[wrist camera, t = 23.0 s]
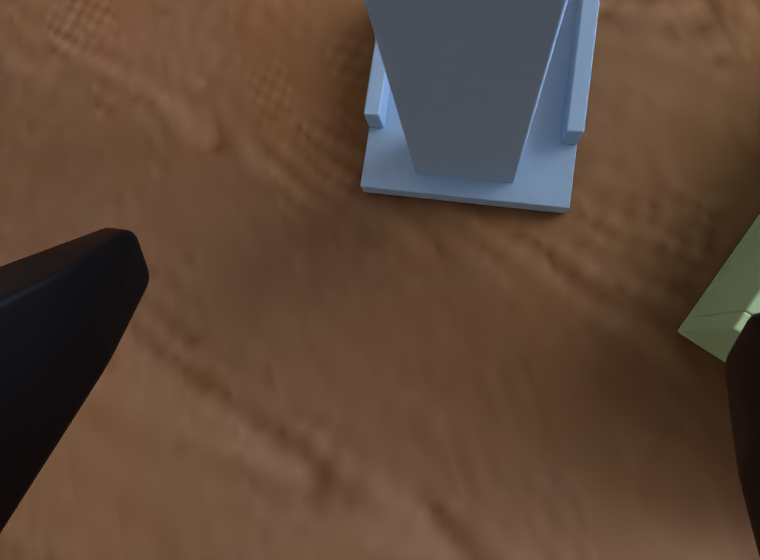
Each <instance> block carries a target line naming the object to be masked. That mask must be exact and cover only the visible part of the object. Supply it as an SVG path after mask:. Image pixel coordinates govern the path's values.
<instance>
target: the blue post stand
mask: <svg viewBox="0 0 760 560" xmlns="http://www.w3.org/2000/svg"><path fill="white" fill-rule="evenodd" d="M364 1H365V4H366V8H367V11H368V15H369V18H370V21H371V25H372V28H373V31H374V35H375V38H376V39H375V45H374V51H373V58H372V64H371V70H370V76H369V83H368V89H367V95H366V102H365V108H364V116H365V118H366V120H367V123H368V125H369V133H368V139H367V145H366V152H365V158H364V164H363V171H362V177H361V184H360V187H361V188H362V190H363V191H364V192H368V193H377V194H387V195H396V196H406V197H415V198H425V199H434V200H443V201H453V202H462V203H472V204H481V205H491V206H500V207H509V208H519V209H528V210H538V211H547V212H556V213H566V212H567V210H568V209H569V208H570V201H571V192H572V184H573V176H574V167H575V159H576V151H577V144H578V142H579V140H580V138H581V136H582V135H583V133H584V131H585V122H586V114H587V105H588V97H589V88H590V80H591V71H592V63H593V55H594V46H595V38H596V29H597V21H598V12H599V4H600V0H364Z"/></svg>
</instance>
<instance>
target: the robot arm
mask: <svg viewBox="0 0 760 560" xmlns="http://www.w3.org/2000/svg"><path fill="white" fill-rule="evenodd" d="M148 281H149V272H148V268H147V265H146V262H145V259H144V256H143V253H142V251H141V248H140V245H139V242H138V239H137V237H136V236H135V234H134V233H133V232H131V231H129V230H123V229H115V228H104V229H101V230H98V231H96V232H93V233H90V234H88V235H85V236H82V237H80V238H77V239H74V240H71V241H69V242H66V243H63V244H61V245H58V246H55V247H52V248H50V249H47V250H44V251H42V252H39V253H36V254H34V255H31V256H28V257H25V258H23V259H20V260H17V261H15V262H12V263H9V264H7V265H4V266H1V267H0V533H1V531H2V530H3V528H4V527H5V525H6V524H7V522H8V520H9V519H10V517H11V516H12V514H13V513H14V511H15V509H16V508H17V506H18V505H19V503H20V502H21V500H22V498H23V497H24V495H25V494H26V492H27V491H28V489H29V488H30V486H31V484H32V483H33V481H34V480H35V478H36V477H37V475H38V473H39V472H40V470H41V469H42V467H43V466H44V464H45V462H46V461H47V459H48V458H49V456H50V455H51V453H52V451H53V450H54V448H55V447H56V445H57V444H58V442H59V441H60V439H61V437H62V436H63V434H64V433H65V431H66V430H67V428H68V426H69V425H70V423H71V422H72V420H73V419H74V417H75V415H76V414H77V412H78V411H79V409H80V408H81V406H82V404H83V403H84V401H85V400H86V398H87V397H88V395H89V393H90V392H91V390H92V389H93V387H94V386H95V384H96V383H97V381H98V379H99V378H100V376H101V375H102V373H103V371H104V370H105V368H106V366H107V365H108V363H109V361H110V359H111V357H112V355H113V354H114V352H115V350H116V348H117V346H118V344H119V342H120V340H121V338H122V336H123V334H124V332H125V330H126V328H127V326H128V324H129V322H130V320H131V318H132V316H133V314H134V312H135V310H136V308H137V306H138V304H139V302H140V300H141V298H142V296H143V294H144V292H145V290H146V288H147V285H148ZM725 378H726V386H727V393H728V401H729V409H730V416H731V424H732V431H733V439H734V447H735V454H736V461H737V467H738V473H739V478H740V482H741V487H742V491H743V495H744V499H745V503H746V507H747V510H748V514H749V518H750V522H751V526H752V530H753V533H754V537H755V541H756V545H757V549H758V553H759V556H760V312H759V313H755V314H753V315H752V316H751V317H750V318H749V319H748V320H747V322H746V324H745V325H744V327H743V329H742V331H741V332H740V334H739V336H738V338H737V339H736V341H735V343H734V345H733V346H732V348H731V350H730V352H729V353H728V356H727V358H726V362H725Z"/></svg>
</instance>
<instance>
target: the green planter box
mask: <svg viewBox="0 0 760 560" xmlns="http://www.w3.org/2000/svg"><path fill="white" fill-rule="evenodd" d="M759 312H760V214H759V215H758V216H757V218H756V219H755V221H754V222H753V224H752V225H751V226H750V228H749V229H748V231H747V232H746V234H745V235H744V236H743V238H742V239H741V241H740V242H739V244H738V245H737V246H736V248H735V249H734V251H733V252H732V254H731V255H730V256H729V258H728V259H727V261H726V262H725V264H724V265H723V266H722V268H721V269H720V271H719V272H718V273H717V275H716V276H715V278H714V279H713V281H712V282H711V283H710V285H709V286H708V288H707V289H706V291H705V292H704V293H703V295H702V296H701V298H700V299H699V301H698V302H697V303H696V305H695V306H694V308H693V309H692V311H691V312H690V313H689V315H688V316H687V318H686V319H685V321H684V322H683V323H682V325H681V326H680V328H679V329H678V331H677V332H678V333H679V334H681V335H683V336H684V337H686V338H687V339H689V340H690V341H692V342H694V343H695V344H697V345H698V346H700V347H701V348H703V349H704V350H706V351H708V352H709V353H711V354H712V355H714V356H715V357H717V358H718V359H720V360H722V361H723V362H726V358H727V356H728V353H729V352H730V350H731V348H732V346H733V345H734V343H735V341H736V339H737V338H738V336H739V334H740V332H741V331H742V329H743V327H744V325H745V324H746V322H747V320H748V319H749V318H750V317H751V316H752V315H753V314H755V313H759Z"/></svg>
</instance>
